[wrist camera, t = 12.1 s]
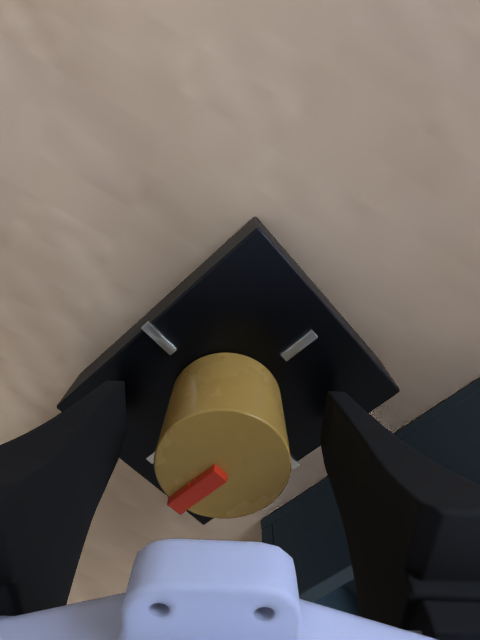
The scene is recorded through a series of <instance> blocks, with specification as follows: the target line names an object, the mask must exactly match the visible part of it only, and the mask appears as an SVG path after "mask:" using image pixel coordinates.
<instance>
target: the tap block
mask: <svg viewBox="0 0 480 640" xmlns="http://www.w3.org/2000/svg"><path fill="white" fill-rule="evenodd" d="M214 353H237V354H241V355H245V356H248V357H250V358H252V359H254V360H256V361H258V362H259V363H261V364H262V365H264V366H265V367H266V368H267V369H268V370H269V371H270V372H271V374H272V375H273V376H274V378H275V379H276V381H277V384H278V386H279V389H280V394H281V400H282V406H283V412H284V418H285V424H286V430H287V436H288V442H289V448H290V454H291V462H292V463H291V469H292V470H295V469H296V468H298V467H299V466H300V463H299V462H298V460H300V459H301V458H303V457H304V456H306V455H307V454H309V453H310V452H311V451H313V450H314V449H316V448H317V447H319V446H320V445H321V441H320V435H321V429H322V423H323V416H324V410H325V404H326V397H327V391H337V392H345V393H347V394H348V395H349V396H350V397H351V398H352V399H353V400H354V401H355V402H357V403H358V404H359V405H360V406H361V407H362V408H363V409H364V410H365V411H366V412H367V413H369V412H370V411H372V410H373V409H375V408H376V407H378V406H379V405H381V404H382V403H384V402H385V401H386V400H388V399H389V398H391V397H392V396H394V395H395V394H397V393H398V392H399V391H400V390H399V388H398V387H397V385H396V384H395V382H394V381H393V379H392V378H391V376H390V375H389V373H388V372H387V370H386V369H385V367H384V366H383V364H382V363H381V361H380V360H379V359H378V357H377V356H376V355H375V354H374V353H373V352H372V350H371V349H370V348H369V347H368V346H367V345H366V344H365V342H364V341H363V340H362V339H361V338H360V337H359V335H358V334H357V333H356V332H355V331H354V330H353V328H352V327H351V326H350V325H349V324H348V323H347V321H346V320H345V319H344V318H343V317H342V316H341V314H340V313H339V312H338V311H337V310H336V309H335V308H334V306H333V305H332V304H331V303H330V302H329V301H328V299H327V298H326V297H325V296H324V295H323V294H322V292H321V291H320V290H319V289H318V288H317V287H316V285H315V284H314V283H313V282H312V281H311V280H310V278H309V277H308V276H307V275H306V274H305V273H304V272H303V270H302V269H301V268H300V267H299V266H298V265H297V263H296V262H295V261H294V260H293V259H292V258H291V256H290V255H289V254H288V253H287V252H286V251H285V249H284V248H283V247H282V246H281V245H280V244H279V243H278V241H277V240H276V239H275V238H274V237H273V236H272V234H271V233H270V232H269V231H268V230H267V229H266V227H265V226H264V225H263V224H262V223H261V222H260V220H259V219H258V218H257V217H253V218H252V219H251V220H250V221H249V222H248V223H247V224H246V225H245V226H243V227H242V228H241V229H240V230H239V231H238V232H237V233H236V234H235V235H233V236H232V237H231V238H230V239H229V240H228V241H227V242H226V243H225V244H224V245H222V246H221V247H220V248H219V249H218V250H217V251H216V252H215V253H214V254H212V255H211V256H210V257H209V258H208V259H207V260H206V261H205V262H204V263H202V264H201V265H200V266H199V267H198V268H197V269H196V270H195V271H194V272H192V273H191V274H190V275H189V276H188V277H187V278H186V279H185V280H184V281H183V282H181V283H180V284H179V285H178V286H177V287H176V288H175V289H174V290H173V291H171V292H170V293H169V294H168V295H167V296H166V297H165V298H164V299H163V300H161V301H160V302H159V303H158V304H157V305H156V306H155V307H154V308H153V309H151V310H150V311H149V312H148V313H147V314H146V315H145V316H144V317H143V318H142V319H140V320H139V321H138V322H137V323H136V324H135V325H134V326H133V327H132V328H130V329H129V330H128V331H127V332H126V333H125V334H124V335H123V336H122V337H120V338H119V339H118V340H117V341H116V342H115V343H114V344H113V345H112V346H110V347H109V348H108V349H107V350H106V351H105V352H104V353H103V354H102V355H101V356H99V357H98V358H97V359H96V360H95V361H94V362H93V363H92V364H91V365H89V366H88V367H87V368H86V369H85V370H84V371H83V372H82V373H81V374H80V375H79V376H78V377H77V379H76V380H75V382H74V383H73V384H72V386H71V387H70V388H69V390H68V391H67V393H66V394H65V395H64V397H63V398H62V399H61V401H60V402H59V404H58V405H57V408H58V409H59V410H60V411H61V412H63V411H65V410H66V409H68V408H69V407H71V406H72V405H74V404H75V403H76V402H78V401H79V400H81V399H82V398H83V397H85V396H86V395H87V394H89V393H90V392H92V391H93V390H94V389H96V388H97V387H98V386H100V385H101V384H103V383H104V382H106V381H107V380H109V381H125V398H126V416H127V432H126V436H125V440H124V443H123V447H122V450H121V453H120V456H119V458H120V459H122V460H123V461H124V462H125V463H127V464H128V465H129V466H130V467H132V468H133V469H134V470H135V471H137V472H138V473H139V474H140V475H142V476H143V477H144V478H145V479H147V480H148V481H149V482H150V483H152V484H153V485H154V486H155V487H157V488H158V489H159V490H160V491H162V492H163V493H164V494H165V495H167V494H166V493H165V492H164V491H163V489H162V488H161V486H160V484H159V482H158V480H157V478H156V474H155V470H154V454H155V450H156V446H157V443H158V439H159V436H160V432H161V429H162V425H163V422H164V418H165V415H166V411H167V408H168V404H169V401H170V397H171V394H172V390H173V387H174V384H175V382H176V380H177V378H178V376H179V375H180V374H181V372H182V371H183V370H184V369H185V368H186V367H187V366H188V365H189V364H191V363H192V362H194V361H195V360H197V359H199V358H201V357H204V356H207V355H210V354H214ZM186 511H187V512H188V513H189V514H191V515H192V516H193V517H194V518H196V519H197V520H198V521H199V522H201V523H202V524H206V523H207V522H209V521H210V520H212V519H213V518H211V517H206V516H202V515H198V514H195V513H193V512H190V511H188V510H186Z"/></svg>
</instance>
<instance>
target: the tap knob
mask: <svg viewBox="0 0 480 640" xmlns="http://www.w3.org/2000/svg"><path fill="white" fill-rule="evenodd" d="M291 463H292V462H291V454H290V448H289V442H288V436H287V430H286V424H285V418H284V412H283V406H282V400H281V394H280V389H279V386H278V384H277V381H276V379H275V378H274V376H273V375H272V374H271V372H270V371H269V370H268V369H267V368H266V367H265V366H264V365H262V364H261V363H259V362H258V361H256V360H254V359H252V358H250V357H248V356H245V355H241V354H237V353H214V354H210V355H207V356H204V357H201V358H199V359H197V360H195V361H194V362H192V363H191V364H189V365H188V366H187V367H186V368H185V369H184V370H183V371H182V372H181V374H180V375H179V376H178V378H177V380H176V382H175V384H174V387H173V390H172V394H171V397H170V401H169V404H168V408H167V411H166V415H165V418H164V422H163V425H162V429H161V432H160V436H159V439H158V443H157V446H156V450H155V454H154V470H155V474H156V478H157V480H158V482H159V484H160V486H161V488H162V489H163V491H164V492H165V493H166V494H167V496H168V497H169V498H168V503H167V505H168V506H169V507H171V508H172V509H173V510H175V511H176V512H177V513H178V514H182V513H183V512H185V511H186V510H188V511H190V512H193V513H195V514H198V515H202V516H206V517H211V518H236V517H241V516H246V515H249V514H252V513H255V512H257V511H259V510H261V509H263V508H265V507H266V506H268V505H269V504H270V503H272V502H273V501H274V500H275V499H276V498H277V497H278V496H279V495H280V494H281V492H282V491H283V490H284V488H285V486H286V484H287V482H288V480H289V477H290V473H291Z"/></svg>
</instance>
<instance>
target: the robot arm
mask: <svg viewBox="0 0 480 640" xmlns="http://www.w3.org/2000/svg"><path fill="white" fill-rule="evenodd" d="M126 432H127V416H126V398H125V381H109V380H107V381H106V382H104V383H103V384H101V385H100V386H98V387H97V388H96V389H94V390H93V391H92V392H90V393H89V394H87V395H86V396H85V397H83V398H82V399H81V400H79V401H78V402H76V403H75V404H74V405H72V406H71V407H69V408H68V409H66V410H65V411H63V412H62V413H60V414H58V415H57V416H55V417H54V418H52V419H51V420H49V421H47V422H46V423H44V424H42V425H41V426H39V427H37V428H35V429H33V430H31V431H30V432H28V433H26V434H24V435H22V436H20V437H18V438H16V439H13V440H11V441H9V442H6V443H4V444H2V445H0V640H480V485H479V484H477V483H475V482H473V481H470V480H468V479H466V478H464V477H462V476H460V475H458V474H456V473H454V472H452V471H450V470H448V469H446V468H444V467H443V466H441V465H439V464H437V463H435V462H433V461H432V460H430V459H428V458H427V457H425V456H423V455H422V454H420V453H419V452H417V451H416V450H414V449H413V448H411V447H410V446H408V445H407V444H405V443H404V442H403V441H401V440H400V439H399V438H397V437H396V436H395V435H393V434H392V433H391V432H390V431H388V430H387V429H386V428H385V427H383V426H382V425H381V424H380V423H379V422H378V421H376V420H375V419H374V418H373V417H372V416H371V415H370V414H369V413H367V412H366V411H365V410H364V409H363V408H362V407H361V406H360V405H359V404H358V403H357V402H355V401H354V400H353V399H352V398H351V397H350V396H349V395H348V394H347V393H345V392H337V391H327V397H326V404H325V410H324V416H323V423H322V429H321V435H320V441H321V447H322V454H323V459H324V464H325V467H326V471H327V474H328V477H329V481H330V484H331V487H332V490H333V493H334V496H335V499H336V503H337V506H338V509H339V512H340V515H341V518H342V522H343V526H344V530H345V534H346V539H347V544H348V549H349V553H350V558H351V564H352V569H353V575H354V580H355V586H356V591H357V597H358V603H359V609H360V615H361V617H360V616H356V615H353V614H350V613H346V612H343V611H339V610H336V609H333V608H329V607H326V606H323V605H319V604H316V603H312V602H309V601H306V600H302V599H299V592H298V585H297V577H296V571H295V566H294V562H293V558H292V557H291V556H289V555H288V554H287V553H286V552H285V551H283V550H282V549H281V548H280V547H278V546H275V545H270V544H266V543H262V542H249V541H224V540H200V539H175V538H172V539H165V540H159V541H153V542H151V543H150V544H148V545H147V546H145V547H144V548H142V549H141V550H140V551H138V552H137V555H136V558H135V561H134V564H133V567H132V571H131V575H130V579H129V582H128V586H127V590H126V593H121V594H117V595H112V596H107V597H102V598H98V599H93V600H88V601H83V602H79V603H74V604H69V605H66V603H67V600H68V596H69V593H70V589H71V586H72V582H73V579H74V575H75V572H76V569H77V565H78V562H79V559H80V555H81V552H82V549H83V546H84V542H85V539H86V536H87V533H88V530H89V527H90V524H91V521H92V518H93V516H94V513H95V511H96V508H97V506H98V504H99V501H100V499H101V497H102V495H103V492H104V490H105V488H106V486H107V483H108V481H109V479H110V477H111V474H112V472H113V470H114V468H115V465H116V463H117V461H118V458H119V456H120V453H121V450H122V447H123V443H124V440H125V436H126Z"/></svg>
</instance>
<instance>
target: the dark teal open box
mask: <svg viewBox="0 0 480 640" xmlns="http://www.w3.org/2000/svg"><path fill="white" fill-rule="evenodd" d="M393 435H395V436H396V437H397V438H399V439H400V440H401V441H403V442H404V443H405V444H407V445H408V446H410V447H411V448H413V449H414V450H416V451H417V452H419V453H420V454H422V455H423V456H425V457H427V458H428V459H430V460H432V461H433V462H435V463H437V464H439V465H441V466H443V467H444V468H446V469H448V470H450V471H452V472H454V473H456V474H458V475H460V476H462V477H464V478H466V479H468V480H470V481H473V482H475V483H477V484H479V485H480V378H479V379H477V380H475V381H474V382H472V383H471V384H469V385H468V386H466V387H465V388H463V389H462V390H460V391H459V392H457V393H456V394H454V395H452V396H451V397H449V398H448V399H446V400H445V401H443V402H442V403H440V404H439V405H437V406H436V407H434V408H433V409H431V410H429V411H428V412H426V413H425V414H423V415H422V416H420V417H419V418H417V419H416V420H414V421H413V422H411V423H410V424H408V425H406V426H405V427H403V428H402V429H400V430H399V431H397V432H396V433H394V434H393ZM261 529H262V543H266V544H270V545H275V546H278V547H280V548H281V549H282V550H283V551H285V552H286V553H287V554H288V555H289V556H291V557H292V558H293V562H294V566H295V571H296V577H297V585H298V592H299V599H302V600H306V601H309V602H312V603H316V604H319V605H323V606H326V607H329V608H333V609H336V610H339V611H343V612H346V613H350V614H353V615H356V616H360V617H361V615H360V609H359V603H358V597H357V591H356V586H355V580H354V575H353V569H352V564H351V558H350V553H349V549H348V544H347V539H346V534H345V530H344V526H343V522H342V518H341V515H340V512H339V509H338V506H337V503H336V499H335V496H334V493H333V490H332V487H331V484H330V481H329V477H327V478H325V479H324V480H322V481H321V482H319V483H318V484H316V485H314V486H313V487H311V488H310V489H308V490H307V491H305V492H304V493H302V494H301V495H299V496H298V497H296V498H295V499H293V500H291V501H290V502H288V503H287V504H285V505H284V506H282V507H281V508H279V509H278V510H276V511H275V512H273V513H272V514H270V515H268V516H267V517H265V518H264V519H262V520H261Z"/></svg>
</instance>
